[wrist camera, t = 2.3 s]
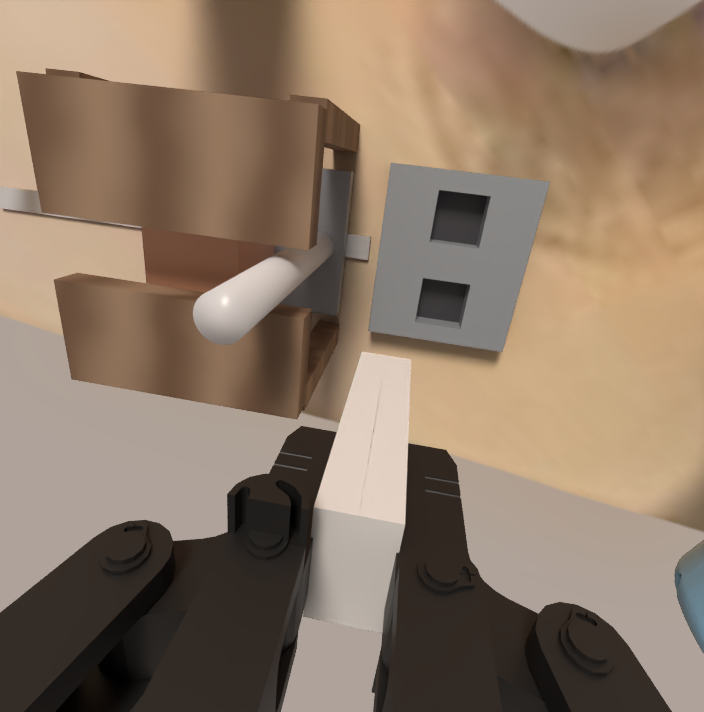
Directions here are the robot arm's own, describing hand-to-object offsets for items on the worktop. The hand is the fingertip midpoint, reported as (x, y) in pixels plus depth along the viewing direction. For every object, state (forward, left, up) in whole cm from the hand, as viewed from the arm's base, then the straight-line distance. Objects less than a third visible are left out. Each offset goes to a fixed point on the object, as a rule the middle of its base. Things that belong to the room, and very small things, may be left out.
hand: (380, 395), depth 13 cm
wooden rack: (+21, 0, -27) cm, 34 cm away
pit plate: (-4, 0, -27) cm, 27 cm away
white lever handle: (+13, 0, -27) cm, 30 cm away
